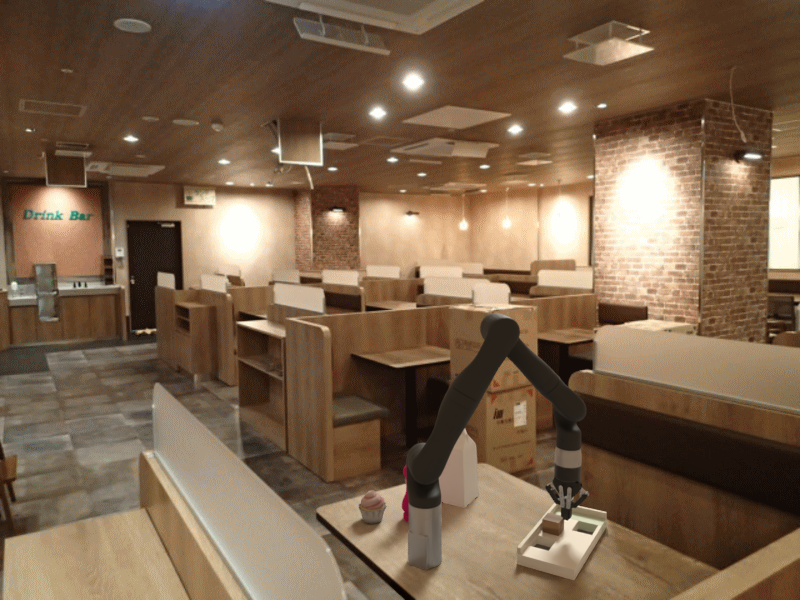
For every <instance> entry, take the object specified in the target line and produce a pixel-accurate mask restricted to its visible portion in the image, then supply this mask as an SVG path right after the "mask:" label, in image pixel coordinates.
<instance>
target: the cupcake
mask: <svg viewBox="0 0 800 600" xmlns="http://www.w3.org/2000/svg"><path fill="white" fill-rule="evenodd" d="M387 507H388V506H387V502H385V499H384V498H383V497H382V495H381V494H380V493H378V492H375V490H374V489H370V490H368V491H367V492H366V493H365V494H364V495H363V497H362V498H361V500H360V503H358V509H359V512H360V515H361V518H362V520H363V522H364V523H366V524H370V525H374V524H379V523H380V522H381V521H382V520H383V518H384V512H385V510H386V508H387Z"/></svg>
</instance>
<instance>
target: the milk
mask: <svg viewBox="0 0 800 600" xmlns="http://www.w3.org/2000/svg"><path fill="white" fill-rule="evenodd" d="M466 429H467V428H465V429H464V430H463V432H462V434H461V435H460V437H459V439H458V440H457V442H456V444H455V446H454V448H453V450H452V452H451V454H450V456H449V459H448V461H447V463H446V466H445V468H444V470H443V472H442V474H441V476H440V477H439V485H440V490H441V503H442V502H443V503H444V504H446V503H447V504H446V505H452V506H455V507H460V508H462V507H463V509H465V508H467V507H468V506H469V505H470V504H471V503H472V502H474V500H476V499H477V498H478V497H479V496H480V487H479V471H478V469H479V468H478V452H477V451H478V450H477V449H478V448H477V444H476V442H475V440H474V439H473V438H471V437H470V435H469V434H468V432H467V430H466ZM476 497H477V498H476ZM475 498H476V499H475ZM443 503H442V504H443ZM468 504H469V505H468ZM467 505H468V506H467Z"/></svg>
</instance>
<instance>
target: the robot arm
mask: <svg viewBox="0 0 800 600" xmlns="http://www.w3.org/2000/svg"><path fill="white" fill-rule="evenodd" d="M479 326H480V327H479V330H480V335H481V337H482V339H483V342H482V345H481V346H480V349H479V350H478V352H477V354H476V355H475V356H474V358H473V360H471V362H470V363H468V365H467V366H466V367H464V369H463V370H461V372H459V374H457V376H456V377H455V378H454V379H453V381H452V382H451V384H450V386H449V387H448V388H447V391H446V392H445V394H444V396H443V398H442V401H441V403H440V405H439V410H438V412H437V416H436V420H435V423H434V427H433V430H432V432H431V433H430V435H429V437H428V439H427V440H426V442H418V443H416V444H414V445H413V446H411V448H410V449H409V450H408V452H407V455H406V460H405V463H406V464H405V465H406V472H407V491H408V502H409V522H408V532H407V564H408V565H410V566H412V567H416V568H419V569H422V570H425V571H427V570H429V569H431V568H435V567H437V566H439V565H440V564H442V560H443V551H442V550H443V546H442V544H443V541H442V540H443V539H442V537H443V536H442V527H443V526H442V502H441V490H440V485H439V477H440V476H441V474H442V472H443V470H444V468H445V466H446V463H447V461H448V459H449V456H450V454H451V452H452V450H453V448H454V446H455V444H456V442H457V440H458V439H459V437H460V435H461V434H462V432H463V430H464V429H466V427H467V426H468V423H469V421H470V420H471V418H472V417H473V416H474V413H475V412H476V410H477V408H478V406H479V405H480V403H481V401H482V399H483V398H484V396H485V394H486V392H487V390H488V389H489V387H490V385H491V383H492V381H493V380H494V378H495V376H496V374H497V372H498V370H499V368H500V367H501V366H502V364H503V363H504V361H506V359H509V361H510V362H511V363H512V364H514V366H515V367H516V368H517V369H518V370H519V372H520V373H522V375H523V376H524V377H525V378H526V379H527V380H528V382H529V383H530V384H531V385H532V386H533V387H534V388H535V389H536V390H537V391H538V392H539V394H541V395H542V396H543V397H544V398H545V399H547V401H549V402H551V404H553V405H552V409H553V410H552V413H553V418H554V419H553V420H554V425H555V430H556V437H555V451H554V458H553V459H554V466H553V467H554V468H553V469H554V472H553V473H554V474H553V475H554V476H553V479H552V481H551V482H548V483H546V485H545V487H544V488H545V490H546V492H547V494H549V496H550V498H551V500H552V501H553V502H554V503H555V504H559V505H560V506H561V517H563V520H567V521H568V520H569V519H570V518H571V517H572V508H576V507H578V506H580V505H581V504H582V503H583V502H584V501H585V500H586V499H587V498H588V497H589V495H590V491H588V490H585V489H584V488H583V483H582V463H583V462H582V458H583V457H582V431H581V429H580V428H579V426H578V424H577V422H581V421H582V420H584V419H585V417H586V416H587V406H586V403H585V402H584V400H583V399H582V398H581V397H580V396H579V395H578V394H577V393H576V392H574V390H573V389H572V388H570V387H569V386H567V384H565V382H564V381H563V380H562V378H561V377H560V376H559V375H558V374H557V373H556V372H555V371H554V370H553V369H552V368H551V367H550V365H549V364H547V363H546V362H545V361H544V360H543V359H542V358H541V357H540V356H538V355H537V354H536V353H535V352H534V351H533V350H531V348H530V347H528V346H527V345H526V343H524V342H523V340H522V339H521V338H520V333H521V330H520V325H519V324H518V322H517V321H516V320H515V319H514V318H512V317H510V316H508V315H507V314H506V315H505V314H504V313H500V312H499V313H498V312H493V313H489V314H487V315H485V316H484V318H483V319H482V320H481V323H480V325H479ZM578 493H579V494H578ZM577 494H578V495H579V498H577V499H576V500H575V501H574V497H576V495H577Z"/></svg>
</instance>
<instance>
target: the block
mask: <svg viewBox="0 0 800 600" xmlns="http://www.w3.org/2000/svg"><path fill="white" fill-rule="evenodd" d="M544 515H545V514H544ZM563 530H564V520H563V517H561V516H560V515H556V514H552V513H547V514H546V515H545V517H544V518H543V519H542V532H544V533H548V534H552V535H556V536H559V535H560V534H561V532H562V531H563Z"/></svg>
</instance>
